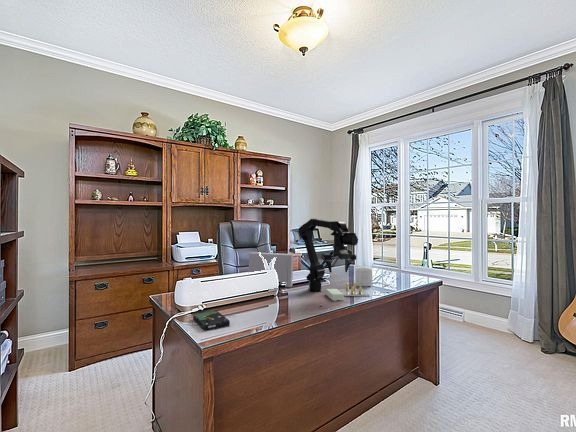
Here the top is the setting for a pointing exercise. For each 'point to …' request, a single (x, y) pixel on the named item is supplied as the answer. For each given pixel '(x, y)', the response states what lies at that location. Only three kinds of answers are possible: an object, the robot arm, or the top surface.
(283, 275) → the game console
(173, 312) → the top surface
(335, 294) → the pale green block
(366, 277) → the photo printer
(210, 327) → the disk drive
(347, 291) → the chassis
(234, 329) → the top surface
